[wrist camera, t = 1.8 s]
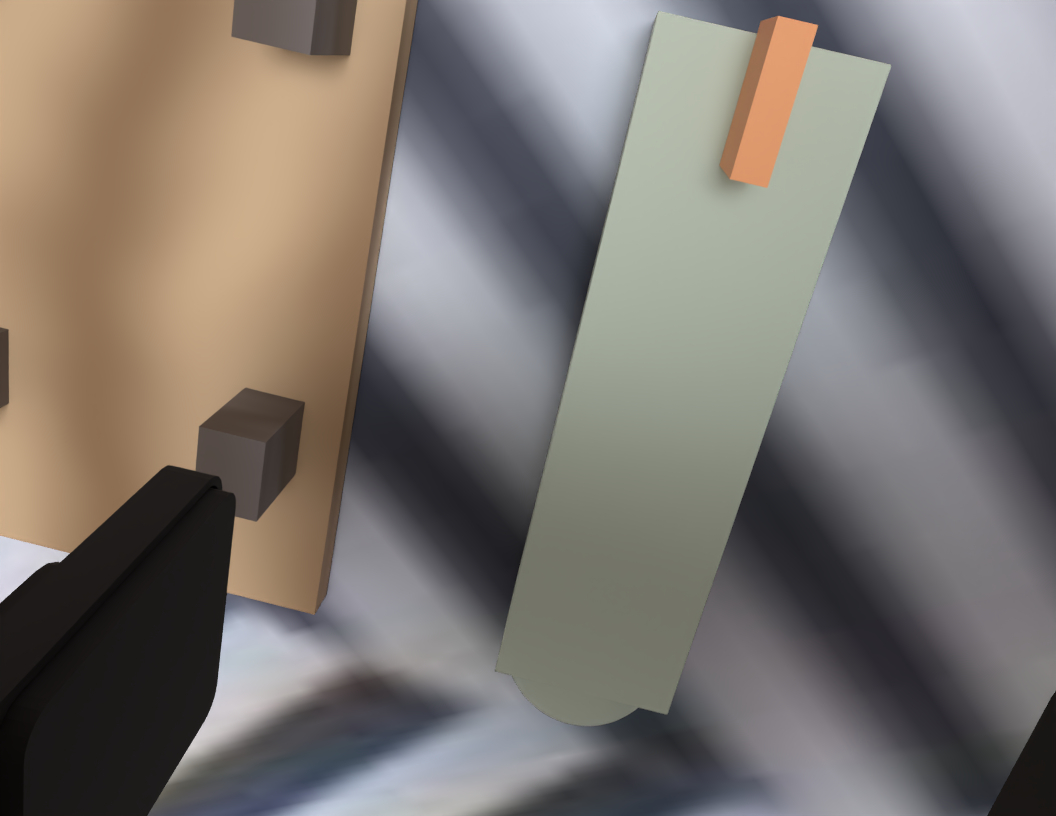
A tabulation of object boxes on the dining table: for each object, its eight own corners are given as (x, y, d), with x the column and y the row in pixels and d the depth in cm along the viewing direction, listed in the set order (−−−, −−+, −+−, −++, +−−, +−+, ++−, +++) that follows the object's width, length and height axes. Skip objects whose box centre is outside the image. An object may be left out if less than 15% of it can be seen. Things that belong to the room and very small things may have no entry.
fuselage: (845, 53, 19) (932, 51, 13) (643, 673, 25) (644, 850, 19) (656, 10, 19) (665, -10, 13) (501, 637, 25) (463, 804, 19)
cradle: (457, -258, 18) (416, -330, 14) (326, 593, 25) (280, 673, 22) (-84, -379, 18) (-244, -476, 15) (-53, 498, 25) (-155, 563, 22)
